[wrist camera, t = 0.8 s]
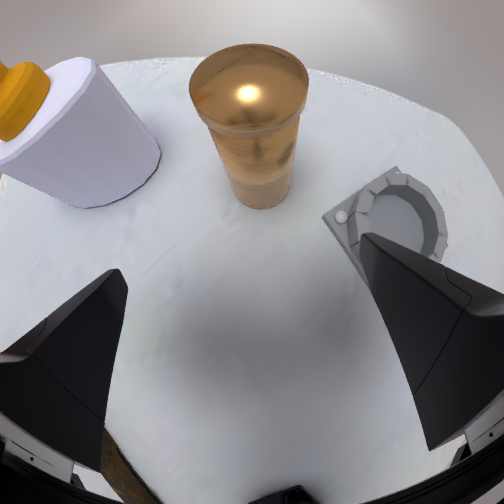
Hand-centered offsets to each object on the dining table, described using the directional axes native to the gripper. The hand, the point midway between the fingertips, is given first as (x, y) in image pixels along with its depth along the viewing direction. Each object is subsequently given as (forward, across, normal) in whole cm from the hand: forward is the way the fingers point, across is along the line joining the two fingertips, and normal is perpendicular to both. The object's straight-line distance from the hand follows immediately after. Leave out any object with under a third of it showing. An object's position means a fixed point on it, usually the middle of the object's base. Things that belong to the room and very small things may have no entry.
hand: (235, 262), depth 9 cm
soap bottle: (+18, +14, -1) cm, 23 cm away
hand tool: (-4, +18, +25) cm, 31 cm away
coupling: (+15, -2, +2) cm, 15 cm away
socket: (+11, -12, +7) cm, 18 cm away
